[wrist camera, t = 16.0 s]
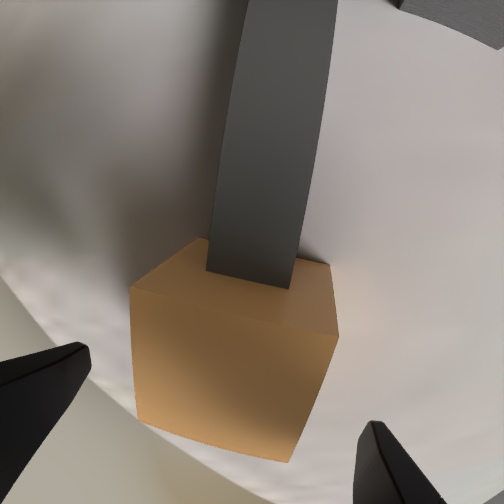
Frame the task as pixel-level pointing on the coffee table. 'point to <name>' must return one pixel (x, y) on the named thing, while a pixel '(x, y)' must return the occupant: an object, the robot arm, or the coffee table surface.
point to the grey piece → (464, 17)
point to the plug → (248, 260)
